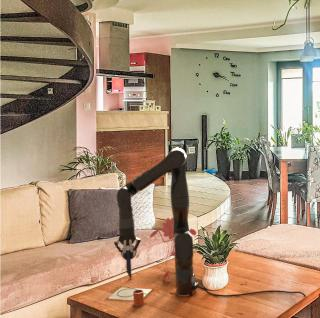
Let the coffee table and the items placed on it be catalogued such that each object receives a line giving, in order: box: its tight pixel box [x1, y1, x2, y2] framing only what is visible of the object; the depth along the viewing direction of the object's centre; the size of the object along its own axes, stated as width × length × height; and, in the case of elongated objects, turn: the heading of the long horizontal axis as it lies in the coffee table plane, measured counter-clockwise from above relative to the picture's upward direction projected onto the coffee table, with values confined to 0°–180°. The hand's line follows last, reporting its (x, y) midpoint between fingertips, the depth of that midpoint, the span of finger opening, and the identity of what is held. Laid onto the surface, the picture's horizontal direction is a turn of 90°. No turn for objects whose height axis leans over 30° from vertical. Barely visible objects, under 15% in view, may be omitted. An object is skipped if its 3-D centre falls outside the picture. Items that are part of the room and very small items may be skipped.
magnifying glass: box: [120, 244, 138, 280], centre depth 247 cm, size 9×2×20 cm, turn 105°
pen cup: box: [133, 288, 145, 307], centre depth 214 cm, size 5×5×7 cm
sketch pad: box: [107, 286, 153, 301], centre depth 227 cm, size 18×14×1 cm
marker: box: [125, 249, 132, 277], centre depth 222 cm, size 2×2×14 cm
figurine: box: [149, 217, 197, 283], centre depth 247 cm, size 15×26×35 cm, turn 115°
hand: (128, 258), depth 222 cm, fingers closed on marker, 2 cm apart
